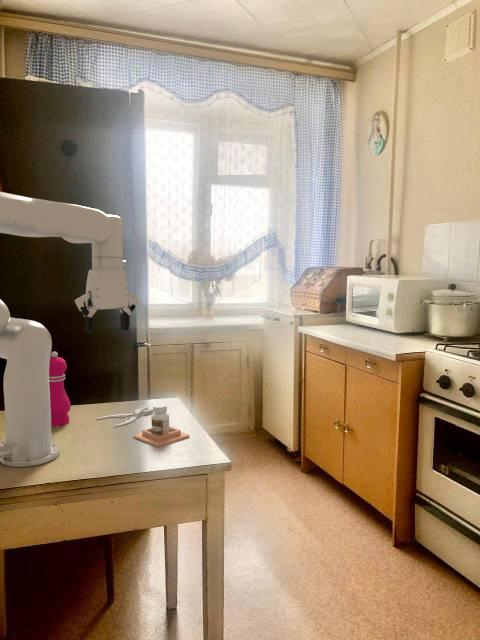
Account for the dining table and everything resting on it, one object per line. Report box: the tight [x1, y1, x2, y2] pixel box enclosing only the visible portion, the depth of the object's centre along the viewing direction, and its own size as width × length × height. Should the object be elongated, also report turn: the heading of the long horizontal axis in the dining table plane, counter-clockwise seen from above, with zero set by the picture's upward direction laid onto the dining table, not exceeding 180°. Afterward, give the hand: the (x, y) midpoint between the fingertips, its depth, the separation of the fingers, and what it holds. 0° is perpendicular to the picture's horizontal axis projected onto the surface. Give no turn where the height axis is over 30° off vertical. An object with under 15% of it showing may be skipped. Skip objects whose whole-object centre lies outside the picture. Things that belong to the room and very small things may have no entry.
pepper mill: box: [49, 351, 71, 427], centre depth 142 cm, size 7×7×20 cm
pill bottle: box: [151, 403, 170, 436], centre depth 131 cm, size 4×4×8 cm
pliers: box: [96, 406, 154, 428], centre depth 148 cm, size 10×2×15 cm
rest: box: [133, 425, 190, 448], centre depth 131 cm, size 10×10×2 cm
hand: (108, 331), depth 133 cm, fingers open, 9 cm apart
